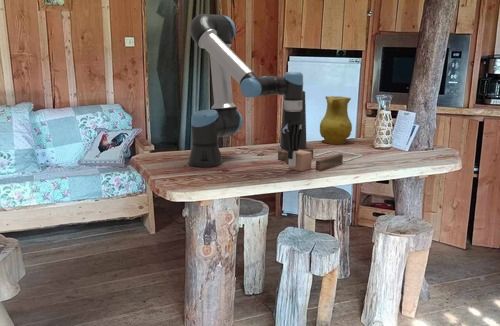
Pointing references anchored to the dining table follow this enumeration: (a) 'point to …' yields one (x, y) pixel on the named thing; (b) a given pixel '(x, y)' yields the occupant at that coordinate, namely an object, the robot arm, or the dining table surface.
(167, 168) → the dining table surface
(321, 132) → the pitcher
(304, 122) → the tapered dark column
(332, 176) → the dining table surface
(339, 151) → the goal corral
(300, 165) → the block
